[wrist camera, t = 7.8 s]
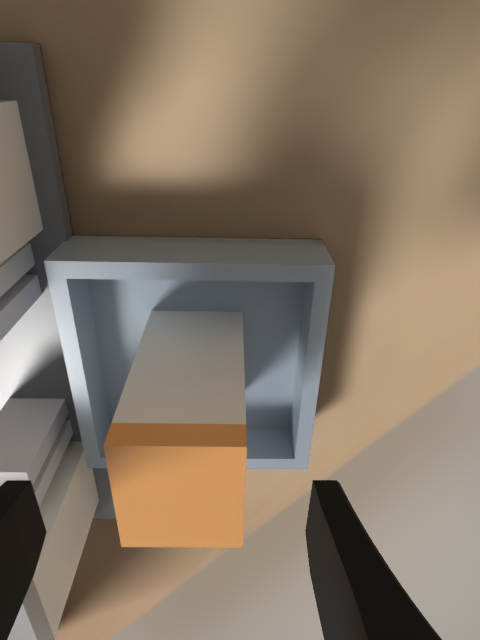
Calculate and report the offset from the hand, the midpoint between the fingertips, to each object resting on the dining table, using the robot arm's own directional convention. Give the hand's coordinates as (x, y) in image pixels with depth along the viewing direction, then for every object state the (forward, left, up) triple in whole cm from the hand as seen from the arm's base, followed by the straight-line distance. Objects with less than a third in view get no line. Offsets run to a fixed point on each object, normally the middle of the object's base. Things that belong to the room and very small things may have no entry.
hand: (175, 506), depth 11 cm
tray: (0, 0, -8) cm, 8 cm away
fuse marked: (0, 0, -7) cm, 7 cm away
